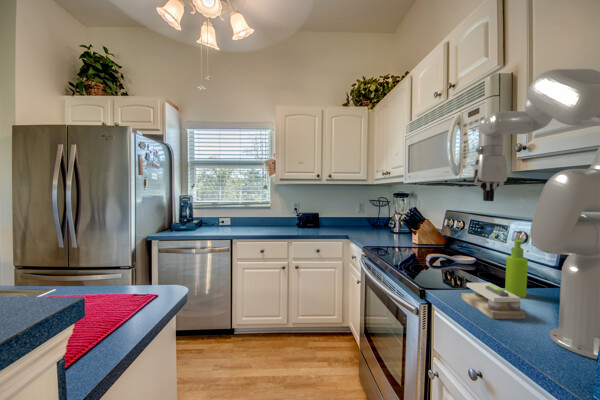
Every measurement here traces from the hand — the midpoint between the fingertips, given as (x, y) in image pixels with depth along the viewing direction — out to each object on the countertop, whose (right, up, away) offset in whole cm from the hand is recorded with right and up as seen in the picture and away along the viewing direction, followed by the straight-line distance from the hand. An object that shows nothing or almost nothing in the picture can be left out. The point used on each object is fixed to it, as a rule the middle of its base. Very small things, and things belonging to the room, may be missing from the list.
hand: (488, 200), depth 101 cm
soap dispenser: (+6, -34, -5) cm, 35 cm away
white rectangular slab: (-10, -29, -16) cm, 35 cm away
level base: (-10, -34, -16) cm, 39 cm away
